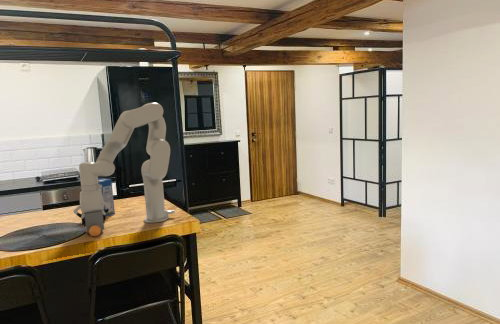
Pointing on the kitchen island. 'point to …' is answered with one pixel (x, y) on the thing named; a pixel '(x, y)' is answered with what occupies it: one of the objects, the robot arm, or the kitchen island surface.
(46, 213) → the kitchen island surface
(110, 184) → the milk carton
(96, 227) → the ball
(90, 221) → the gray cube
